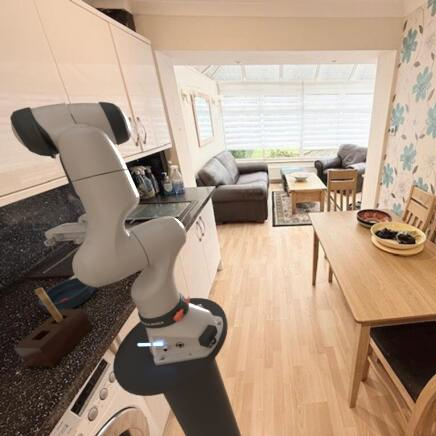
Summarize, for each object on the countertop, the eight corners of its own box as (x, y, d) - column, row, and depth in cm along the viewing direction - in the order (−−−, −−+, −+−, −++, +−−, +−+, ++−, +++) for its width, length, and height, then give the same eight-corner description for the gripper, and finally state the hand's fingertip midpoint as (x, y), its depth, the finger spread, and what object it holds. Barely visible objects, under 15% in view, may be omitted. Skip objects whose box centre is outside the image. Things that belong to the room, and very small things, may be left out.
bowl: (104, 286, 99) (99, 276, 96) (72, 315, 85) (65, 305, 83) (71, 286, 100) (65, 277, 98) (34, 315, 86) (26, 305, 84)
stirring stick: (76, 334, 77) (43, 287, 69) (71, 339, 76) (38, 291, 67) (71, 334, 77) (38, 287, 69) (67, 339, 76) (32, 291, 67)
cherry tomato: (72, 303, 88) (73, 297, 90) (62, 301, 86) (64, 295, 88) (65, 309, 88) (67, 303, 90) (56, 307, 86) (58, 300, 88)
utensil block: (93, 326, 80) (82, 309, 76) (54, 366, 68) (39, 348, 64) (71, 326, 80) (59, 309, 77) (29, 366, 68) (13, 347, 65)
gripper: (62, 217, 87) (24, 236, 74) (117, 213, 86) (87, 232, 74) (70, 232, 89) (35, 253, 77) (123, 229, 89) (96, 249, 76)
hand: (61, 243), depth 75 cm, fingers open, 8 cm apart
